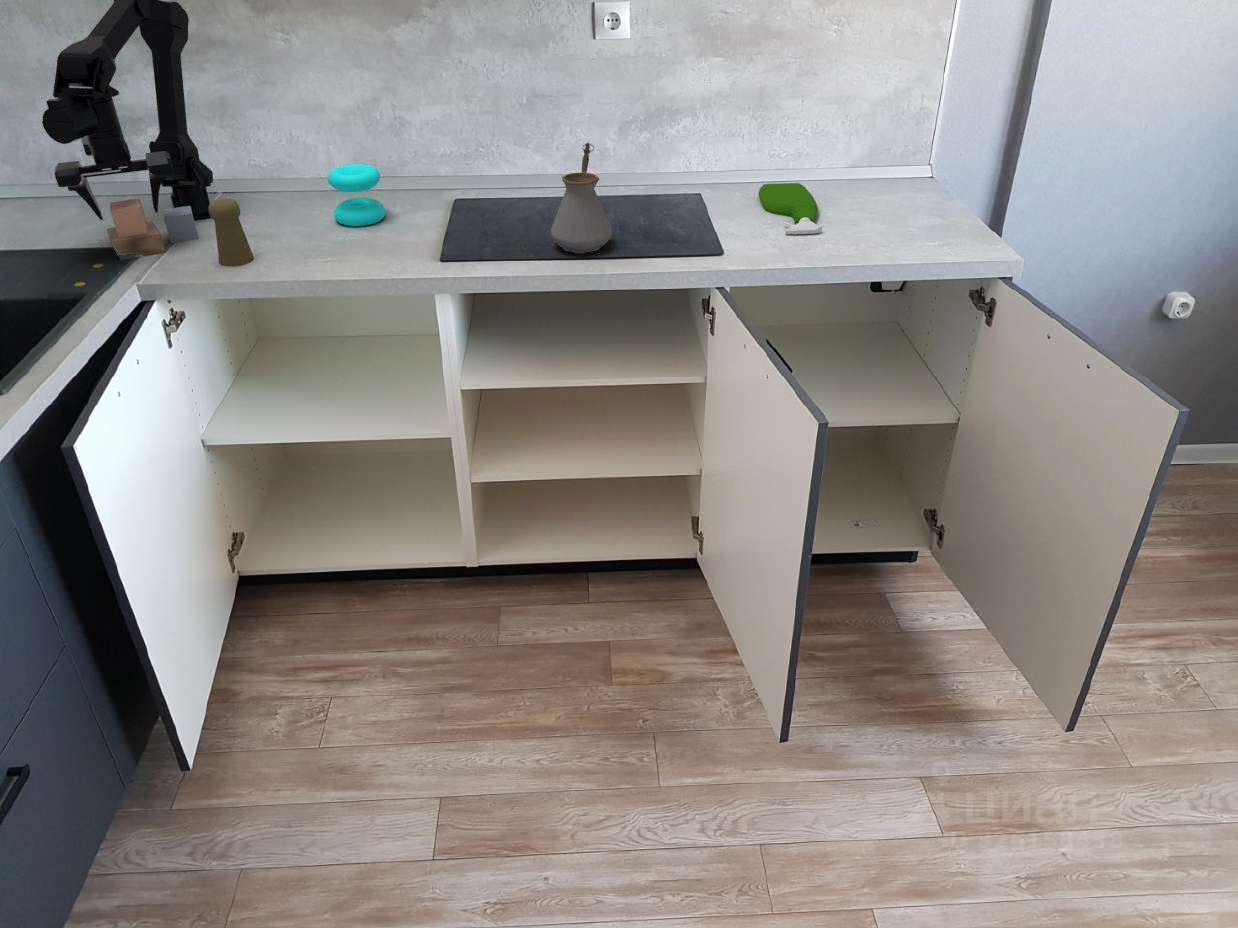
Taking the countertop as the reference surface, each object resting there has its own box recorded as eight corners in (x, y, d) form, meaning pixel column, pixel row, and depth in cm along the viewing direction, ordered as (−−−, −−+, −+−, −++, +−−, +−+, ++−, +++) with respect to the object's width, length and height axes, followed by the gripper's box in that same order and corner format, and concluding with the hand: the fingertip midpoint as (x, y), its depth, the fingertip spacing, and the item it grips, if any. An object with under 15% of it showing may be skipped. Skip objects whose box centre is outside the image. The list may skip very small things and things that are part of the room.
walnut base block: (158, 241, 181) (152, 220, 179) (166, 254, 175) (160, 233, 173) (113, 249, 177) (106, 228, 175) (120, 263, 172) (113, 241, 170)
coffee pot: (609, 258, 171) (608, 176, 163) (547, 257, 172) (542, 174, 164) (618, 218, 189) (618, 142, 181) (561, 217, 190) (558, 141, 181)
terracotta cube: (147, 225, 177) (139, 198, 174) (148, 233, 173) (140, 206, 170) (118, 229, 175) (110, 202, 172) (118, 237, 171) (110, 210, 168)
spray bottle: (804, 196, 201) (833, 238, 181) (754, 197, 201) (777, 240, 180) (806, 182, 199) (835, 224, 179) (755, 183, 199) (778, 225, 179)
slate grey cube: (196, 231, 185) (190, 205, 182) (198, 239, 181) (192, 213, 178) (169, 234, 183) (162, 209, 180) (170, 243, 179) (163, 217, 176)
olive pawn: (242, 251, 175) (228, 192, 169) (260, 259, 172) (246, 199, 166) (212, 261, 171) (196, 201, 165) (230, 269, 168) (215, 208, 162)
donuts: (318, 177, 180) (336, 161, 188) (328, 227, 186) (345, 210, 194) (369, 178, 179) (385, 162, 187) (377, 229, 185) (392, 212, 193)
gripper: (158, 112, 173) (181, 196, 182) (45, 123, 167) (74, 209, 175) (161, 126, 165) (184, 213, 173) (41, 139, 158) (72, 229, 167)
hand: (129, 215), depth 173 cm, fingers open, 9 cm apart
